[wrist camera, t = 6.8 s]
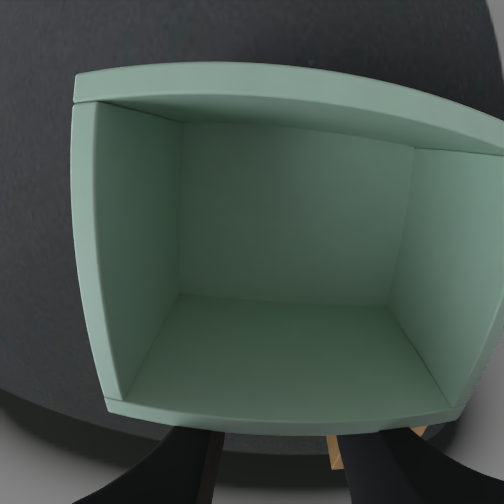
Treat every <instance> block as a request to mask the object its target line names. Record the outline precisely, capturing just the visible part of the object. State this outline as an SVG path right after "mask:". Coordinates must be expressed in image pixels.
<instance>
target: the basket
mask: <svg viewBox="0 0 504 504" xmlns="http://www.w3.org/2000/svg"><path fill="white" fill-rule="evenodd" d="M73 101H74V103H77V104H75V105H73V111H72V127H71V205H72V222H73V234H74V245H75V255H76V263H77V271H78V278H79V285H80V292H81V298H82V304H83V309H84V315H85V320H86V325H87V330H88V335H89V339H90V344H91V348H92V353H93V357H94V361H95V365H96V369H97V373H98V376H99V380H100V384H101V387H102V391H103V394H104V396H105V402H106V405H107V408H108V411H109V412H112V413H116V414H120V415H124V416H128V417H133V418H137V419H142V420H147V421H152V422H157V423H163V424H169V425H175V426H183V427H190V428H198V429H206V430H212V431H219V432H229V433H241V434H256V435H279V436H325V435H348V434H362V433H374V432H378V431H379V430H386V429H394V428H401V427H409V428H414V427H421V426H427V425H433V424H438V423H443V422H448V421H453V420H457V419H458V417H459V416H460V414H461V412H462V411H463V409H464V407H465V405H466V404H467V402H468V400H469V398H470V397H471V395H472V393H473V391H474V389H475V387H476V386H477V384H478V382H479V380H480V378H481V376H482V374H483V372H484V370H485V368H486V366H487V364H488V362H489V360H490V358H491V356H492V353H493V351H494V349H495V347H496V345H497V343H498V340H499V338H500V335H501V333H502V331H503V328H504V121H502V120H500V119H498V118H495V117H493V116H491V115H488V114H486V113H483V112H481V111H478V110H476V109H473V108H470V107H468V106H465V105H462V104H459V103H457V102H454V101H451V100H448V99H445V98H442V97H439V96H436V95H432V94H429V93H426V92H422V91H419V90H416V89H412V88H408V87H405V86H401V85H397V84H393V83H389V82H384V81H380V80H376V79H371V78H366V77H362V76H356V75H351V74H346V73H340V72H334V71H328V70H321V69H314V68H306V67H298V66H288V65H277V64H265V63H248V62H176V63H159V64H146V65H136V66H126V67H118V68H111V69H104V70H97V71H91V72H85V73H80V74H77V75H76V78H75V87H74V97H73Z"/></svg>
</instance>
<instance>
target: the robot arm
mask: <svg viewBox="0 0 504 504" xmlns="http://www.w3.org/2000/svg"><path fill="white" fill-rule="evenodd" d="M224 436H225V432H219V431H212V430H206V429H198V428H190V427H183V426H174V427H173V428H172V429H171V431H170V432H169V433H168V434H167V435H166V436H165V438H164V439H163V440H162V441H161V442H160V443H159V444H158V445H157V446H156V447H155V448H154V449H153V450H152V451H151V452H150V453H149V454H148V455H146V456H145V457H144V458H143V459H142V460H141V461H139V462H138V463H137V464H136V465H135V466H133V467H132V468H131V469H130V470H128V471H127V472H126V473H124V474H123V475H121V476H120V477H118V478H117V479H115V480H114V481H112V482H111V483H109V484H108V485H106V486H105V487H103V488H101V489H99V490H98V491H96V492H94V493H92V494H90V495H88V496H86V497H84V498H82V499H80V500H78V501H76V502H74V503H72V504H212V497H213V491H214V486H215V481H216V476H217V472H218V467H219V463H220V458H221V453H222V448H223V443H224ZM336 437H337V443H338V447H339V451H340V455H341V459H342V463H343V466H344V470H345V474H346V478H347V482H348V486H349V490H350V495H351V500H352V504H504V481H502V480H499V479H496V478H493V477H490V476H487V475H484V474H481V473H479V472H477V471H474V470H472V469H470V468H468V467H466V466H464V465H462V464H460V463H458V462H456V461H455V460H453V459H451V458H449V457H448V456H446V455H444V454H443V453H441V452H440V451H438V450H437V449H436V448H434V447H433V446H431V445H430V444H429V443H427V442H426V441H425V440H424V439H422V438H421V437H420V436H419V435H417V434H416V433H415V432H414V431H413V430H412V429H411V428H409V427H401V428H394V429H386V430H379V431H378V432H374V433H362V434H348V435H336Z"/></svg>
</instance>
